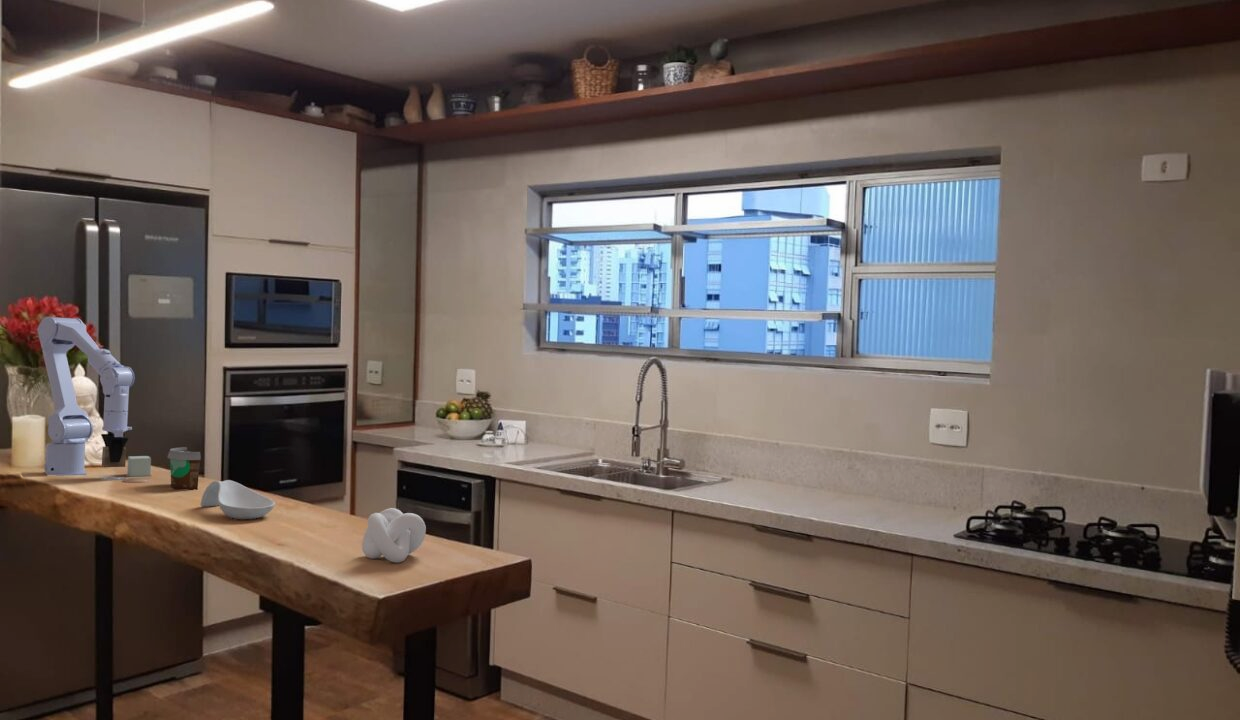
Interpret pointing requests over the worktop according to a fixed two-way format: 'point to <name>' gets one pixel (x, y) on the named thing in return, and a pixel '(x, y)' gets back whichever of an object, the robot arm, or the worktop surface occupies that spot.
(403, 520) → the grey knot sculpture
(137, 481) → the coaster
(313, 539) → the worktop surface
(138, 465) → the sage block
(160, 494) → the worktop surface
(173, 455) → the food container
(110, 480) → the tile
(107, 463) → the walnut block
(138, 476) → the tile
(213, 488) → the spoon rest
